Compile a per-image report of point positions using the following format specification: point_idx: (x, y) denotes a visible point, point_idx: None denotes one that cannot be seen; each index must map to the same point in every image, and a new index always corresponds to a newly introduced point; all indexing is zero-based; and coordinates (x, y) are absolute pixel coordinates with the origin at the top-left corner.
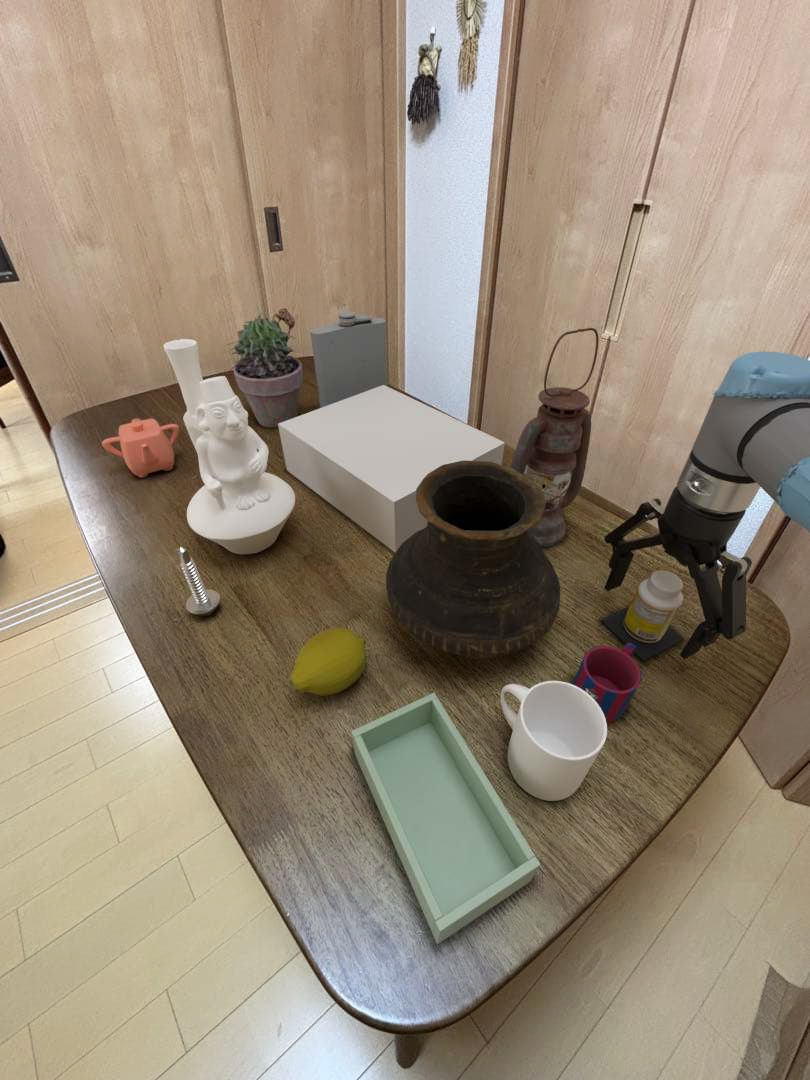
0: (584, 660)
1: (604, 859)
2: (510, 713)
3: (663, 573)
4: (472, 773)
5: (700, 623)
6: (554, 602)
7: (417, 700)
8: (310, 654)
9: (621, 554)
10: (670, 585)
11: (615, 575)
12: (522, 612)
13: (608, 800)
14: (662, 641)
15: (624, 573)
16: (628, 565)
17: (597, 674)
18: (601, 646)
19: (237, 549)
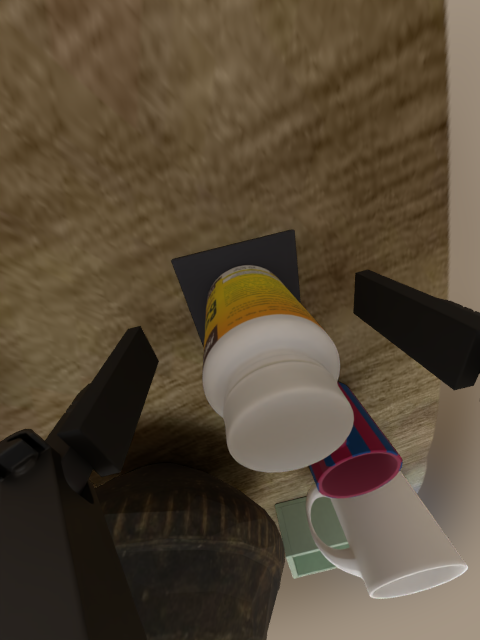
0: (329, 496)
1: (424, 439)
2: (316, 498)
3: (250, 433)
4: None
5: (455, 384)
6: (237, 551)
7: (288, 562)
8: None
9: (89, 468)
10: (320, 438)
11: (142, 397)
12: (267, 615)
13: (400, 426)
14: (283, 280)
15: (127, 361)
16: (112, 383)
17: None
18: (322, 479)
19: None
